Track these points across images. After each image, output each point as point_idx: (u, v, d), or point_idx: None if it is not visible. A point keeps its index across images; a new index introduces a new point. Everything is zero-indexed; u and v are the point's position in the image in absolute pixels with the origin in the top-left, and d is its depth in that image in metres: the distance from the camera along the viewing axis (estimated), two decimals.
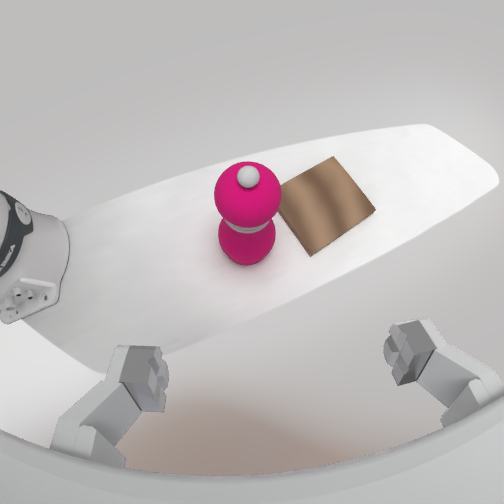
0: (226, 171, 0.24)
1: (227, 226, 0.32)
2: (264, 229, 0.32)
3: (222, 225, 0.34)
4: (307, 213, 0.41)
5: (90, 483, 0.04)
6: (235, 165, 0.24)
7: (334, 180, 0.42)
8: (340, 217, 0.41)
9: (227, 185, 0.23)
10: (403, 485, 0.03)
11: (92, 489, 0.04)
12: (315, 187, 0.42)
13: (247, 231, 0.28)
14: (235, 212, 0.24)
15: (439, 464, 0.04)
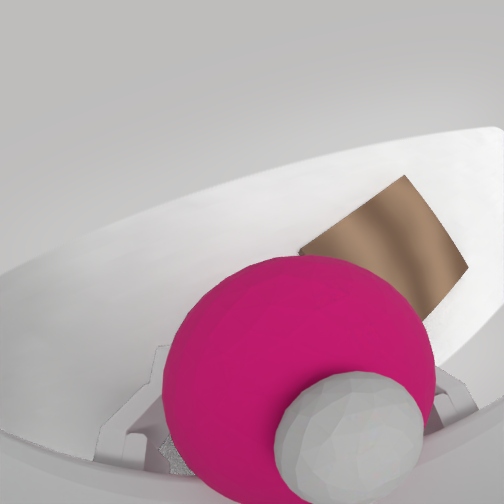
0: (203, 333, 0.04)
1: None
2: None
3: None
4: None
5: (90, 483, 0.04)
6: (250, 298, 0.05)
7: (411, 219, 0.23)
8: (423, 287, 0.21)
9: (213, 436, 0.04)
10: (403, 485, 0.03)
11: (92, 489, 0.04)
12: (383, 234, 0.22)
13: None
14: None
15: (439, 464, 0.04)
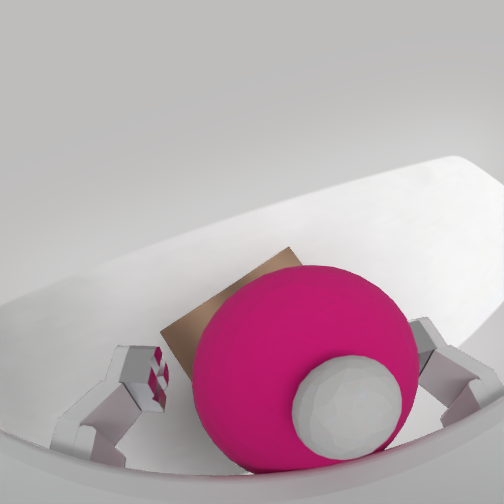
0: (231, 330, 0.06)
1: None
2: None
3: None
4: None
5: (90, 483, 0.04)
6: (268, 302, 0.06)
7: None
8: None
9: (240, 411, 0.05)
10: (403, 486, 0.03)
11: (92, 489, 0.04)
12: None
13: None
14: None
15: (439, 464, 0.04)
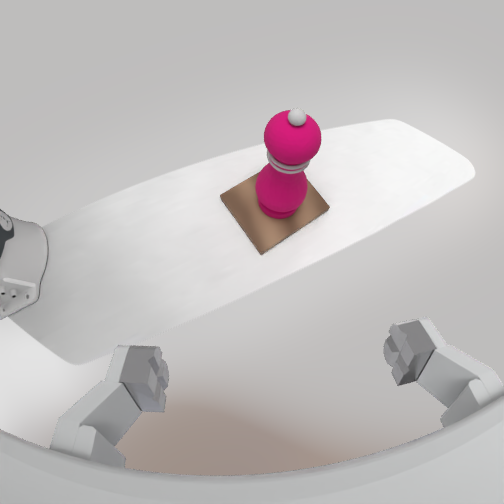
0: (275, 116, 0.27)
1: (268, 174, 0.35)
2: (301, 176, 0.35)
3: (261, 176, 0.37)
4: (258, 213, 0.43)
5: (90, 483, 0.04)
6: (282, 112, 0.27)
7: None
8: (291, 215, 0.43)
9: (278, 125, 0.26)
10: (403, 485, 0.03)
11: (92, 489, 0.04)
12: None
13: (290, 171, 0.31)
14: (287, 146, 0.26)
15: (439, 464, 0.04)
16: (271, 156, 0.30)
